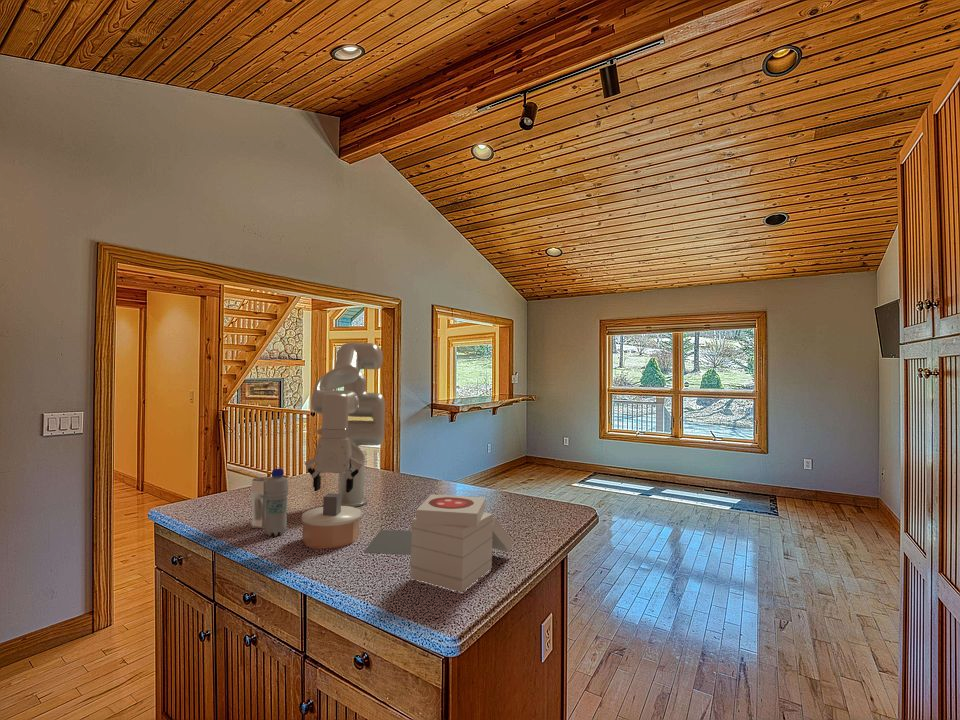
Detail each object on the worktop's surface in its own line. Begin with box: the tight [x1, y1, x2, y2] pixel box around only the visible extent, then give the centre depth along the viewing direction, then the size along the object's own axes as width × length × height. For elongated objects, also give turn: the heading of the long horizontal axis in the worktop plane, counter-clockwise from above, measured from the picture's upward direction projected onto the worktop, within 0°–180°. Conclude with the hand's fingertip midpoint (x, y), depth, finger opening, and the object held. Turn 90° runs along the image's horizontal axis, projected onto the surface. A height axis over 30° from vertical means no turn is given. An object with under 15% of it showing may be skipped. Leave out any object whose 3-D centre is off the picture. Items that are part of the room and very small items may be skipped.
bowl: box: [301, 518, 361, 550], centre depth 141 cm, size 15×15×7 cm
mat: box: [363, 529, 412, 556], centre depth 140 cm, size 19×19×1 cm
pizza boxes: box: [409, 493, 514, 592], centre depth 124 cm, size 19×30×18 cm, turn 151°
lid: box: [301, 492, 362, 526], centre depth 141 cm, size 17×17×6 cm
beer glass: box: [250, 476, 272, 529], centre depth 153 cm, size 7×7×15 cm
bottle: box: [263, 468, 289, 537], centre depth 146 cm, size 7×7×20 cm
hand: (333, 490), depth 142 cm, fingers open, 9 cm apart
